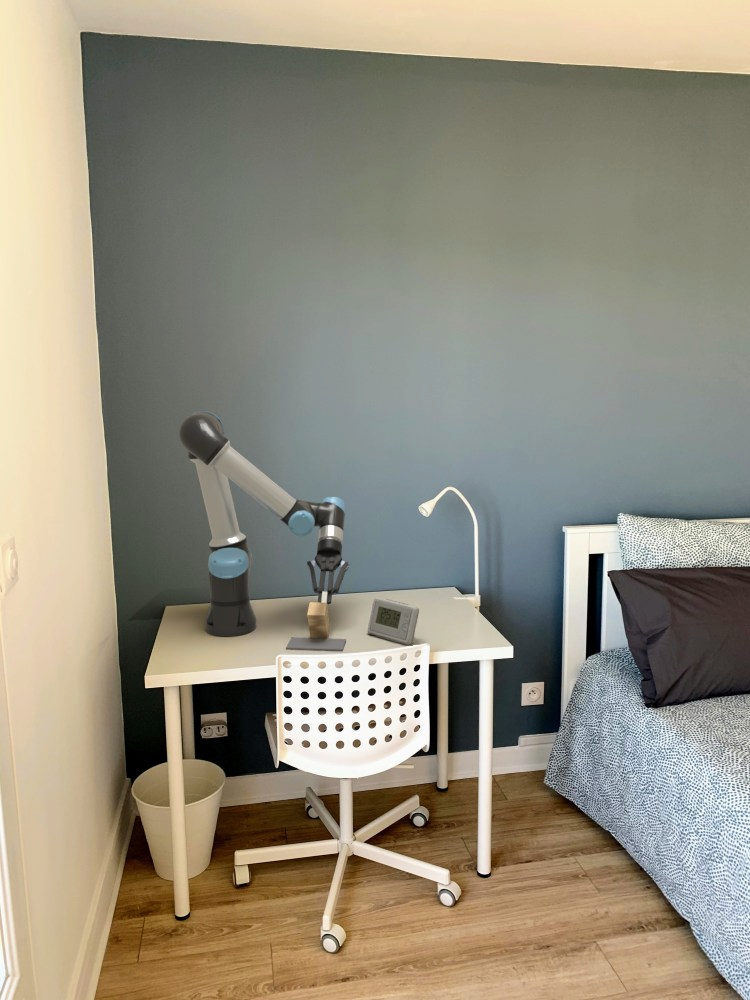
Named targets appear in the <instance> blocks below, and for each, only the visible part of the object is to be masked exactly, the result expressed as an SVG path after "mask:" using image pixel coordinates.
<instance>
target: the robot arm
mask: <svg viewBox="0 0 750 1000" xmlns="http://www.w3.org/2000/svg"><path fill="white" fill-rule="evenodd" d="M224 430H225V429H224V425H223V422H222V420H221V419H220V418H219V417H218V416H217V415H216V414H215V413H212V412H210V411H206V410H205V411H204V410H201V411H196V412H193V413H191V414H190V415H189V416H188V417H186V418H185V419H184V420H183V421H182V422H181V424H180V426H179V429H178V439H179V441H180V444H181V445H182V447H183V448H184V449H185V450H186V452H187V455H188V460H189V461H191V462H192V463H193V464H195V467H196V468H195V469H196V471H197V472H196V473H197V477H198V480H199V484H200V490H201V494H202V498H203V502H204V507H205V510H206V515H207V520H208V523H209V529H210V531H211V536H212V538H211V540H210V542H208V545H209V546H208V547H209V550H210V555H209V557H208V563H207V568H208V578H209V579H208V580H209V581H208V582H209V598H210V599H209V601H210V606H209V608H208V612H207V615H206V619H205V632H207V633H208V634H210V635H212V636H216V637H217V636H218V637H236V636H242V635H245V634H248V633H251V632H252V631H255V630H256V628H257V618H256V614H255V613H254V612H255V611H254V609H253V606H252V604H251V597H250V574H251V573H250V572H251V568H252V567H253V554H252V551H251V549H250V548H249V544H248V541H247V536H246V534H244V533H243V532H241V531H240V528H239V522H238V518H237V514H236V509H235V504H234V500H233V496H232V491H231V487H230V482H229V480H230V481H232V482H233V483H234V484H235V485H236V486H238V487H239V488H240V489H241V490H243V491H244V492H245V493H247V494H248V495H249V496H250V497H252V498H253V499H254V500H255V501H256V502H257V503H258V504H260V505H261V506H262V507H264V508H265V509H266V510H268V512H270V513H271V514H272V515H274V516H275V517H276V518H278V519H279V520H280V521H281V522H282V523H283V524H284V525H286V526H287V527H288V529H289V530H290V532H291V533H292V534H293V535H294V536H297V537H307V536H308V535H310V534H312V532H313V530H314V527H319V531H318V537H317V538H318V540H317V541H318V543H317V546H316V547H317V549H316V555H315V557H314V559H313V560H308V561H306V563H307V568H308V569H309V571H310V578H311V579H310V580H311V584H312V590H313V592H314V593H315V594H317V595H318V596H317V597H318V598H317V602H320V603H327V605H331V604H332V599H333V597H332V596H333V594H338V593H339V592H340V588H341V586H342V583H343V580H344V577H345V574H346V572H347V571H348V570H349V569H350V565H349V562H348V561H344V560H343V557H342V550H343V539H344V537H343V536H344V529H345V517H346V504H345V502H344V500H343V499H341V498H339V497H337V496H331V497H330V496H327V497H325V498H324V499H323V500H322V502H315V501H308V500H301V499H298V498H297V499H296V498H294V497H293V496H291V494H289V493H288V492H287V491H286V490H284V489H283V488H282V487H281V486H279V485H278V484H277V483H276V482H274V481H273V480H272V479H271V478H270V477H268V475H266V474H265V473H264V472H262V470H260V469H259V468H258V467H257V466H255V465H254V464H253V463H251V462H250V461H249V460H248V459H247V458H245V457H244V455H242V454H241V453H239V452H238V451H237V450H235V449H234V448H233V447H232V446H231V441H230V440H229V439H228V438H226V436H224V433H225V431H224ZM316 566H317V567H318V568H319V570H320V573H319V584H317V583H318V582H317V577H316V572H315V571H316V570H315V568H316ZM338 568H340V570H339V572H338V574H337V578H336V580H335V579H334V578H335V571H336V570H337V569H338ZM327 572H328V579H327V589H326V590H327V591H325V585H326V583H325V582H326V574H327ZM334 580H335V583H334Z"/></svg>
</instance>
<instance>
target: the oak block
mask: <svg viewBox="0 0 750 1000" xmlns="http://www.w3.org/2000/svg"><path fill="white" fill-rule="evenodd" d="M328 608H329V607H328V604H327V603H320V602H318V601H317V602H313V601H310V602H309V605H308V609H307V614H306V617H307V621H308V622H307V624H308V630H309V638H329V633H330V628H331V626H330V619H329V609H328Z"/></svg>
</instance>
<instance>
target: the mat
mask: <svg viewBox="0 0 750 1000" xmlns="http://www.w3.org/2000/svg"><path fill="white" fill-rule="evenodd" d="M346 642H347V638H329V637H328V638H310V637H290V640H289V641H288V643H287V645H286V647H285V650H289V649H290V650H289V651H291V650H292V651H293V650H294V651H298V650H299V651H320V652H322V651H326V652H327V651H329V652H343V651H344V648H345V645H346Z"/></svg>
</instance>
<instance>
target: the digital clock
mask: <svg viewBox="0 0 750 1000" xmlns="http://www.w3.org/2000/svg"><path fill="white" fill-rule="evenodd" d="M419 614H420V608H418V606H415V605H411V604H409V603H405V602H400V601H396V600H393V599H389V598H388V599H387V598H382V597H379V596H378V597H377V596H376V597H375V598H374V599H373V603H372V607H371V613H370V617H369V622H368V627H367V633H368V634H369V635H372V636H374V637H377V638H380V639H383V640H387V641H390V642H393V643H398V644H404V645H407V646H408V645H412V644H413V641H414V637H415V632H416V628H417V623H418V618H419Z"/></svg>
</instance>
